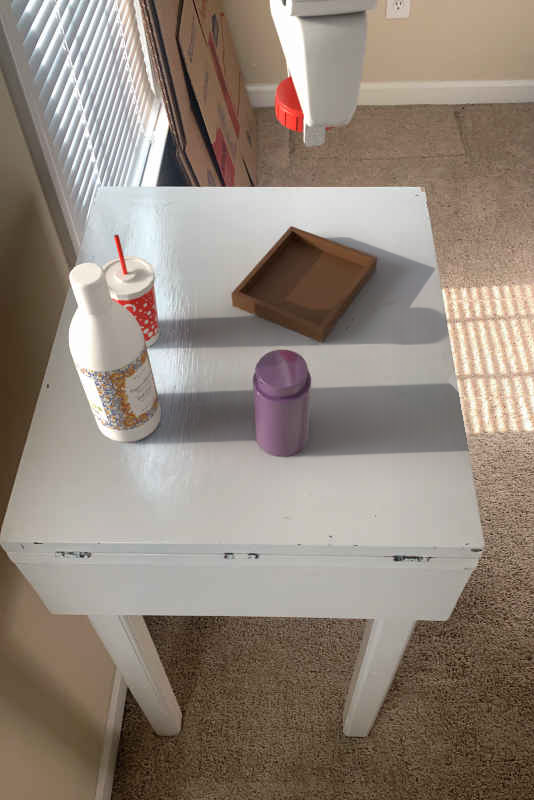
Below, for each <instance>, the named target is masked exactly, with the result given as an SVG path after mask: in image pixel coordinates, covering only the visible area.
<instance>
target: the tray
mask: <svg viewBox="0 0 534 800" xmlns="http://www.w3.org/2000/svg"><path fill="white" fill-rule="evenodd" d="M377 265H378V257H377V256H374V255H372V254H369V253H366V252H364V251H361V250H358V249H355V248H352V247H351V246H348V245H345V244H342V243H339V242H336V241H333V240H331V239H329V238H326V237H323V236H320V235H318V234H314V233H312V232H309V231H306V230H303V229H300V228H298V227H296V226H293V225H290V226H289V227H288V229H287V230H286V231H285V232H284V233H283V234H282V235H281V237H280V238H279V239H278V240H277V241H276V242H275V243H274V244H273V245H272V247H271V248H270V249H269V250H268V252H267V253H266V254H265V255H264V256H263V257H262V258H261V259H260V261H259V262H258V263H257V264H256V265H255V266H254V267H253V268H252V269H251V270H250V272H249V273H248V274H247V275H246V276H245V277H244V278H243V279H242V281H241V282H240V283H239V285H238V286H236V288H234V290H233V291H232V292H231V304H232V305H231V306H232V307H235V308H236V309H240V310H242V311H244V312H247V313H249V314H252V315H254V316H256V317H258V318H262V319H264V320H266V321H268V322H271V323H273V324H275V325H278V326H281V327H283V328H286V329H289V330H290V331H293V332H295V333H297V334H299V335H303V336H304V337H307V338H310V339H312V340H314V341H316V342H319V343H320V344H321V343H323V342H324V341H325V339H326V338H327V337H328V335H330V333H331V332H332V330H333V328H334V327H335V326H336V325H337V323H338V322H339V321H340V319H341V318H342V316H343V315H344V313H346V311H347V310H348V308H350V306H351V304H352V303H353V301H354V300H355V299H356V298H357V296H358V295H359V293H360V292H361V291H362V290H363V288H364V287H365V286H366V284H367V283H368V282H369V280H370V279H371V277H372V276H373V275H374V273H375V272H376V270H377Z"/></svg>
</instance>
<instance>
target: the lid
mask: <svg viewBox="0 0 534 800" xmlns="http://www.w3.org/2000/svg"><path fill="white" fill-rule="evenodd" d="M274 111H275V117H276V120H278V122H279V123H280V124H281V125H282V126H283V127H286V128H287V129H289V130H291V131H294V132H297V133H302V118H304V114H303V111H302V108H301V105H300V102H299V98H298V95H297V92H296V89H295V86H294V83H293V80H292V77H291V76H290V77H288V76H287V77H286V78H284V79H282V81H281V82H280V83H279V84H278V85H277V87H276V89H275V97H274ZM334 127H335V126H333V127H326V129H325V132H326V131H329V130H331V129H333V128H334Z"/></svg>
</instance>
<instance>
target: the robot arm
mask: <svg viewBox="0 0 534 800" xmlns="http://www.w3.org/2000/svg"><path fill="white" fill-rule="evenodd" d="M378 3H379V0H269V6H270V7H269V8H270V14H271V18H272V20H273V23H274V26H275V31H276V33H277V36H278V38H279V42H280V45H281V48H282V51H283V54H284V58H285V61H286V62H285V63H286V69H287V78H288V77H290V76H291V77H292V80H293V83H294V86H295V89H296V92H297V95H298V98H299V102H300V105H301V108H302V111H303V114H304V118H302V132H301V136H302V139H303V143H304V145H305V146H306V147H309V148H310V147H320V146H322V145H323V144H325V141H326V131H325V129H326V127H333V126H334V127H340V126H346V125H348V124H349V123H350V122H351V121H352V119H353V117H354V115H355V112H356V109H357V105H358V101H359V94H360V89H361V83H362V77H363V70H364V62H365V56H366V48H367V39H368V15H367V14H368V13H367V11H372V10H375V9H376V8H377V6H378ZM334 127H333V128H334Z"/></svg>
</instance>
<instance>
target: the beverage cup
mask: <svg viewBox="0 0 534 800" xmlns="http://www.w3.org/2000/svg"><path fill="white" fill-rule="evenodd" d="M113 236H114V241H115V246H116V249H117V253H118V254H117V255H118V257H117V258H113V259H111V260H110V261H108V262H106V263H104V265H102V266H101V267H102V269H103V271H104V273H105V277H106V280H107V284H108V288H109V291H110V295H111V299H113V300H114V301H116V302H118V303H119V304H121V305H122V306H124V307H125V308H126V309H127V310H128V311H129V312H130V313H131V314H132V315H133V316H134V317H135V319H136V320H137V322H138V324H139V325H140V328H141V330H142V332H143V335H144V339H145V343H146V347H147V348H149V347H151V346H153V345H154V344H155V343H157V341H158V340H159V338H160V333H161V331H160V323H159V314H158V307H157V299H156V298H157V297H156V291H155V282H156V276H155V275H156V273H155V270H154V266H153V265H152V264H151V263H150V262H149V261H148V260H146V259H144V258H141V257H138V256H134V255H133V256H128V255H127V256H126V255H125V256H124V252H123V248H122V243H121V240H120V239H121V238H120V235H119V234H114V235H113Z"/></svg>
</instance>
